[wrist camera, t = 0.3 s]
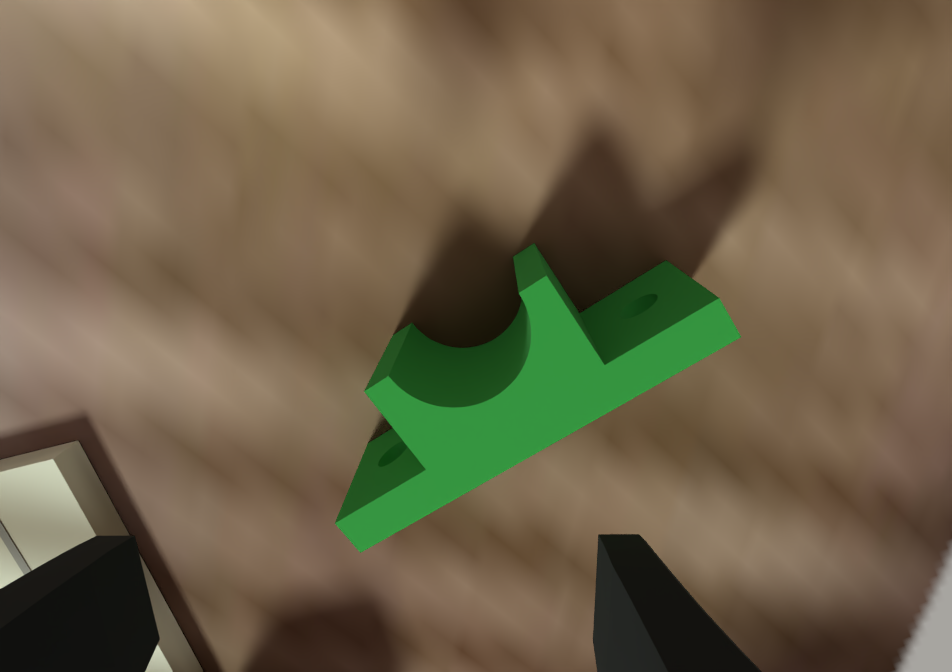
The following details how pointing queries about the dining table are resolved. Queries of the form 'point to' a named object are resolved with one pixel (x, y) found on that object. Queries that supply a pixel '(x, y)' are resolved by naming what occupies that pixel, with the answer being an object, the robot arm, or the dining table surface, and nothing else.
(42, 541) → the board
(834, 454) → the dining table surface
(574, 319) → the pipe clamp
